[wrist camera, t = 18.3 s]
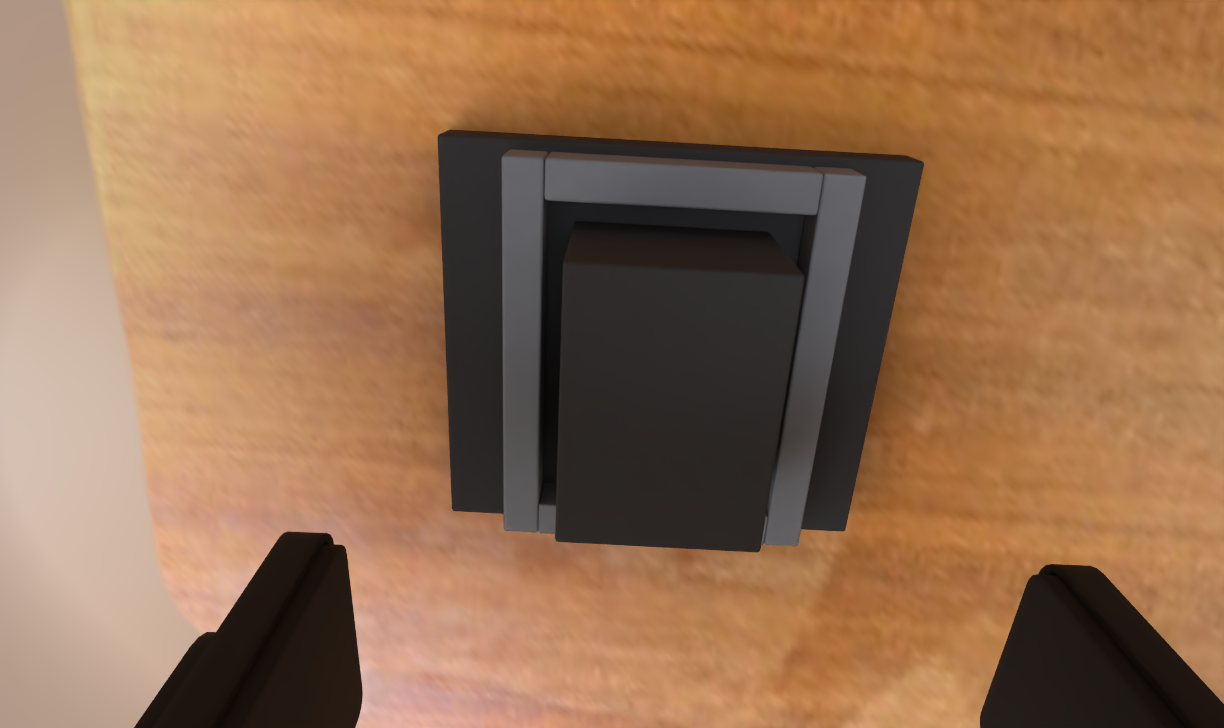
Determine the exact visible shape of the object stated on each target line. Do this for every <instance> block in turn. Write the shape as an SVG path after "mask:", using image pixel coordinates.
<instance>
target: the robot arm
mask: <svg viewBox="0 0 1224 728" xmlns="http://www.w3.org/2000/svg"><path fill="white" fill-rule="evenodd" d="M361 704H362V682H361V673H360V665H359V656H358V647H357V639H356V630H355V621H354V612H353V604H352V595H351V586H350V578H349V569H348V560H347V553H346V549H345V547H344V546H343V545H334V542H333V538H332V537H331V535H330V534H328V533H307V532H285V533H283V534H282V535H281V536H280V538H279V539H278V540H277V542H276V543H275V545H274V546H273V548H272V549H271V551H270V552H269V554H268V555H267V557H266V558H265V560H264V561H263V563H262V564H261V566H260V567H259V569H258V570H257V572H256V573H255V575H254V576H253V578H252V579H251V581H250V582H249V584H248V585H247V587H246V588H245V590H244V591H243V593H242V594H241V596H240V597H239V599H238V600H237V602H236V603H235V605H234V606H233V608H232V609H231V611H230V612H229V614H228V615H227V617H226V618H225V620H224V621H223V623H222V624H221V626H220V627H219V629H218V630H217V632H206V633H205V634H203V635H201V636H200V637H198V638H197V640H196V641H195V642H194V643H193V644H192V645H191V647H190V648H189V649H188V651H187V652H186V654H185V655H184V656H183V658H182V660H181V661H180V662H179V664H178V665H177V667H176V668H175V670H174V671H173V673H172V674H171V675H170V677H169V678H168V680H167V681H166V682H165V684H164V685H163V687H162V688H161V690H160V691H159V692H158V694H157V695H156V697H155V698H154V700H153V701H152V703H151V704H150V706H149V707H148V708H147V710H146V711H145V713H144V714H143V716H142V717H141V718H140V720H139V721H138V723H137V724H136V726H135V727H134V728H355V726H356V724H357V721H358V718H359V714H360V710H361ZM980 728H1224V704H1223V703H1222V702H1221V701H1220V700H1219V698H1218V697H1217V696H1216V695H1215V694H1214V693H1213V692H1212V691H1211V690H1210V689H1209V688H1208V687H1207V685H1206V684H1205V683H1204V682H1203V681H1202V680H1201V679H1200V678H1199V677H1198V676H1197V675H1196V674H1195V672H1194V671H1193V670H1192V669H1191V668H1190V667H1189V666H1188V665H1187V664H1186V663H1185V662H1184V661H1183V659H1182V658H1181V657H1180V656H1179V655H1178V654H1177V653H1176V652H1175V651H1174V650H1173V649H1172V648H1171V646H1170V645H1169V644H1168V643H1167V642H1166V641H1165V640H1164V639H1163V638H1162V637H1161V636H1160V635H1159V633H1158V632H1157V631H1156V630H1155V629H1154V628H1153V627H1152V626H1151V625H1150V624H1149V623H1148V622H1147V620H1146V619H1145V618H1144V617H1143V616H1142V615H1141V614H1140V613H1139V612H1138V611H1137V610H1136V609H1135V607H1134V606H1133V605H1132V604H1131V603H1130V602H1129V601H1128V600H1127V599H1126V598H1125V597H1124V596H1123V595H1122V593H1121V592H1120V591H1119V590H1118V589H1117V588H1116V587H1115V586H1114V585H1113V584H1112V583H1111V582H1110V580H1109V579H1108V578H1107V577H1106V576H1105V575H1104V574H1103V573H1102V572H1101V571H1099V570H1098V569H1097V568H1095V567H1092V566H1080V565H1057V564H1051V565H1046V566H1045V567H1043V568H1042V569H1041V571H1040V572H1039V574H1038V575H1033V576H1032V577H1031V578H1030V579H1029V581H1028V583H1027V585H1026V588H1025V591H1024V594H1023V596H1022V599H1021V602H1020V605H1019V608H1018V610H1017V613H1016V616H1015V619H1014V622H1013V624H1012V627H1011V630H1010V633H1009V636H1008V638H1007V641H1006V644H1005V647H1004V650H1003V652H1002V655H1001V658H1000V661H999V664H998V666H997V669H996V672H995V675H994V678H993V680H992V683H991V686H990V689H989V692H988V694H987V697H986V700H985V703H984V706H983V708H982V711H981V716H980Z"/></svg>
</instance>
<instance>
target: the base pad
mask: <svg viewBox="0 0 1224 728" xmlns="http://www.w3.org/2000/svg"><path fill="white" fill-rule="evenodd" d="M438 157H439V183H440V209H441V235H442V261H443V287H444V313H445V339H446V364H447V390H448V416H449V442H450V468H451V494H452V509H453V511H464V512H483V513H502V514H504V530H505V531H517V532H537V531H539V533H546V534H555V524H556V489H557V454H558V419H559V384H560V350H561V315H562V280H563V262H564V259H565V255H566V252H567V248H568V245H569V241H570V237H571V234H572V230H573V227H574V223H575V222H576V221H585V222H603V223H620V224H638V225H655V226H673V227H691V228H708V229H726V230H743V231H761V232H769V233H770V234H771V235H772V237H773V238H774V239H775V240H776V241H777V243H778V244H779V245H780V246H781V248H782V249H783V250H784V251H785V252H786V254H787V255H788V256H789V257H790V259H791V260H792V261H793V262H794V264H795V265H796V266H797V267H798V268H799V270H800V271H801V272H802V273H803V275H804V277H805V280H804V286H803V292H802V298H801V304H800V310H799V316H798V322H797V328H796V335H795V341H794V347H793V353H792V359H791V365H790V371H789V377H788V383H787V390H786V396H785V402H784V408H783V414H782V420H781V426H780V432H779V438H778V445H777V451H776V457H775V463H774V469H773V475H772V481H771V487H770V493H769V500H768V506H767V512H766V518H765V524H764V530H763V536H762V542H761V545H763V543H764V544H766V545H782V546H797V545H798V542H799V537H800V531H801V529H808V530H827V531H845V528H846V524H847V519H848V514H849V510H850V505H851V500H852V496H853V491H854V486H855V482H856V477H857V472H858V468H859V463H860V459H861V454H862V449H863V445H864V440H865V435H866V431H867V426H868V421H869V417H870V412H871V407H872V403H873V398H874V394H875V389H876V384H877V380H878V375H879V370H880V366H881V361H882V356H883V352H884V347H885V342H886V338H887V333H888V329H889V324H890V319H891V315H892V310H893V305H894V301H895V296H896V291H897V287H898V282H899V277H900V273H901V268H902V263H903V259H904V254H905V250H906V245H907V240H908V236H909V231H910V226H911V222H912V217H913V212H914V208H915V203H916V198H917V194H918V189H919V185H920V180H921V175H922V171H923V166H924V163H923V162H922V161H919V160H916V159H914V158H911V157H908V156H901V155H884V154H866V153H849V152H831V151H814V150H796V149H779V148H761V147H744V146H726V145H709V144H691V143H674V142H656V141H638V140H621V139H603V138H586V137H568V136H551V135H533V134H516V133H498V132H481V131H463V130H448V131H446V132H444V133H441V134H439V135H438Z"/></svg>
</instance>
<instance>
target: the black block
mask: <svg viewBox="0 0 1224 728" xmlns="http://www.w3.org/2000/svg"><path fill="white" fill-rule="evenodd" d="M804 280H805V277H804V275H803V273H802V272H801V271H800V270H799V268H798V267H797V266H796V265H795V264H794V262H793V261H792V260H791V259H790V257H789V256H788V255H787V254H786V252H785V251H784V250H783V249H782V248H781V246H780V245H779V244H778V243H777V241H776V240H775V239H774V238H773V237H772V235H771V234H770V233H769V232H761V231H743V230H726V229H708V228H691V227H673V226H655V225H638V224H620V223H603V222H585V221H576V222H575V223H574V227H573V230H572V234H571V237H570V241H569V245H568V248H567V252H566V255H565V259H564V262H563V280H562V315H561V350H560V384H559V419H558V454H557V489H556V524H555V539H556V541H557V542H572V543H591V544H610V545H629V546H648V547H667V548H686V549H705V550H724V551H743V552H759V551H760V549H761V542H762V536H763V530H764V524H765V518H766V512H767V506H768V500H769V493H770V487H771V481H772V475H773V469H774V463H775V457H776V451H777V445H778V438H779V432H780V426H781V420H782V414H783V408H784V402H785V396H786V390H787V383H788V377H789V371H790V365H791V359H792V353H793V347H794V341H795V335H796V328H797V322H798V316H799V310H800V304H801V298H802V292H803V286H804Z"/></svg>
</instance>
